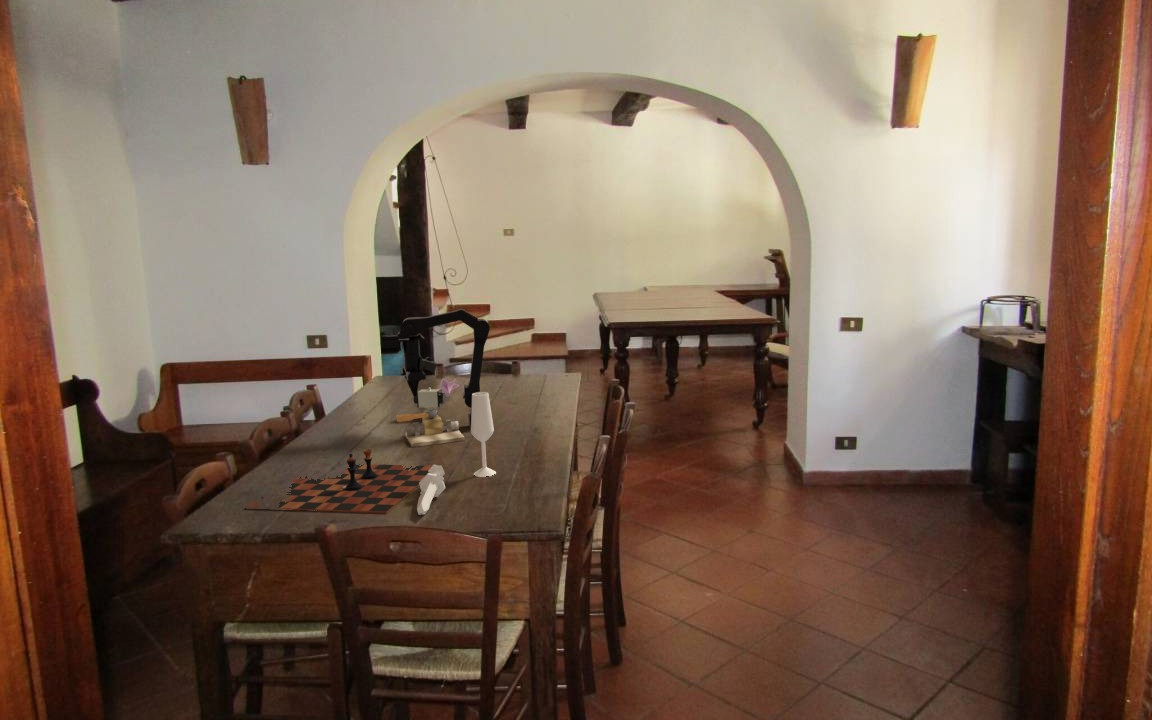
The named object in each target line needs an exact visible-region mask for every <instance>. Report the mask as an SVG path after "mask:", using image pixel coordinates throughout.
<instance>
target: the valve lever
mask: <svg viewBox="0 0 1152 720" xmlns="http://www.w3.org/2000/svg"><path fill="white" fill-rule="evenodd" d="M436 411H437V410H436ZM436 411H428V412H427V413H424V412H421V413H414V414H412V413H405V414H397V415H396V422H398V423H403V422H410V421H413V420H414V419H422V418H425V417H428V418H434V417H436Z"/></svg>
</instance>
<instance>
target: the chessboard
mask: <svg viewBox="0 0 1152 720" xmlns="http://www.w3.org/2000/svg"><path fill="white" fill-rule="evenodd" d="M362 451H363V455H364V456H365V457H364V458H363V460H364V462H365V463H366V464H365V463H362V464H363V465H361V466H359V465H360V463H358V464H359V465H356V464H357V463H356V462H357V461H356V459H355V457H353V454H352V453H349V455H348V458H347V460H346V464H348V465H349V467H350V468H347V469H344V471H347V472H345V473H344V474H342V475H341V477H338V476H337V477H336V478H329V477H328V479H327V478H324V480H320V479H317V481H316V480H314V479H312V478H311V480H309V479H308V478H307V476H306V477H305V479H302V478H301V477H300V478H299V479H294V478H292V479H293V482H295V483H292V484H291V485H292V487H289V488H291V489H292V490H289V491H291V492H287V493H291V494H287V495H289V496H290V497H289V498H287V499H289V500H290V501H288V502H286V503H285V499H284V500H282V501H280V503H279V504H280V505H279V507H278V508H283V509H293V510H313V511H312V512H314V510H315V511H316V510H317V511H333V512H332V513H346V512H360V513H359V514H378V513H379V514H381V515H382V514H383V515H387V514H388V513H389V512H391V511H392V510H393V509H394V508H395V507H396V506H397V505H398V504H400V503H401V502H402V501H403V500H404V499H405V498H406V497H408V496H409V495H410V494H411V493H412V492H413V491H414V490H415V489H417V488H418V487H420V485H419V482H420V481H421V480H422V479H423V478H424V477H425V476H426V475H427V474H428V473H429V472H428V470H429V469H430V468H431V467H432V466H433V465H428V464H427V465H425V464H424V465H421V464H419V465H420V466H416V467H415V468H412V469H411V470H410V471H408V470H409V469H410V468H411V467H412V466H411V467H410V468H406V469H405V467H406V466H405V467H404V468H403V466H404V465H405V464H376V463H374V464H373V463H372V459H373V456H371V455H372V452H373V449H369V448H368V449H364V450H362ZM365 465H367V466H365ZM402 465H403V466H402ZM416 468H417V469H416ZM404 469H405V470H404ZM415 469H416V470H415ZM414 470H415V471H414ZM417 486H418V487H417ZM416 487H417V488H416ZM408 494H409V495H408ZM255 501H256V500H254V501H253V502H251V503H249V504H250V505H249V504H247V505H246V506H247V507H252V506H253V505H254V504H255ZM258 505H259V502H258V503H257V504H256V505H254V506H253V507H255V506H256V507H257V508H258ZM262 505H263V504H262ZM379 514H378V515H379Z"/></svg>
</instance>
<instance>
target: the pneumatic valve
mask: <svg viewBox="0 0 1152 720" xmlns="http://www.w3.org/2000/svg"><path fill="white" fill-rule="evenodd" d="M412 399H413V404H415V405H416V407H417V408H419V409H421V408H425V410H424V411H423V413H427V412H428V411H436V416H439V411H438V410H437V408H441V407H442V406H444V405H446V402H447V396H446V394H445V393H443V392H442V389H438V388H436V389H435V388H431V387H427V389H426V388H425V389H422V388H421V389H418V390H417V396H413V398H412ZM424 418H426V417H424Z"/></svg>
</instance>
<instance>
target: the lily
mask: <svg viewBox="0 0 1152 720" xmlns="http://www.w3.org/2000/svg"><path fill="white" fill-rule="evenodd" d="M456 380H457V378H454V379H452V380H450V381H449V380H447V379H445V378H442V379H441V381H440V387H438V388H437V389H442V392H443V393H445V394H446V397H448V398H451V400H452V401H454V399H453V396H452V395H451V394H452V390H454V389H457V388H459V387H460V384H458V383H456ZM449 396H450V397H449Z"/></svg>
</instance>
